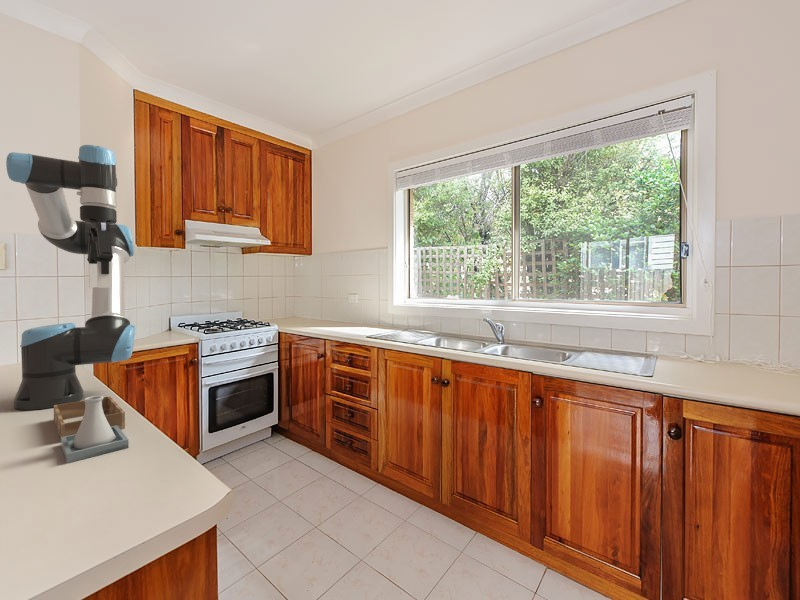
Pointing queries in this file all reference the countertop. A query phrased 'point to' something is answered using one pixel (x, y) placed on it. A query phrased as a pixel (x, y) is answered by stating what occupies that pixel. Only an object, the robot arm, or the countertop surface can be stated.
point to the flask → (93, 426)
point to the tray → (79, 454)
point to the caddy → (78, 410)
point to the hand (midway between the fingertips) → (99, 287)
